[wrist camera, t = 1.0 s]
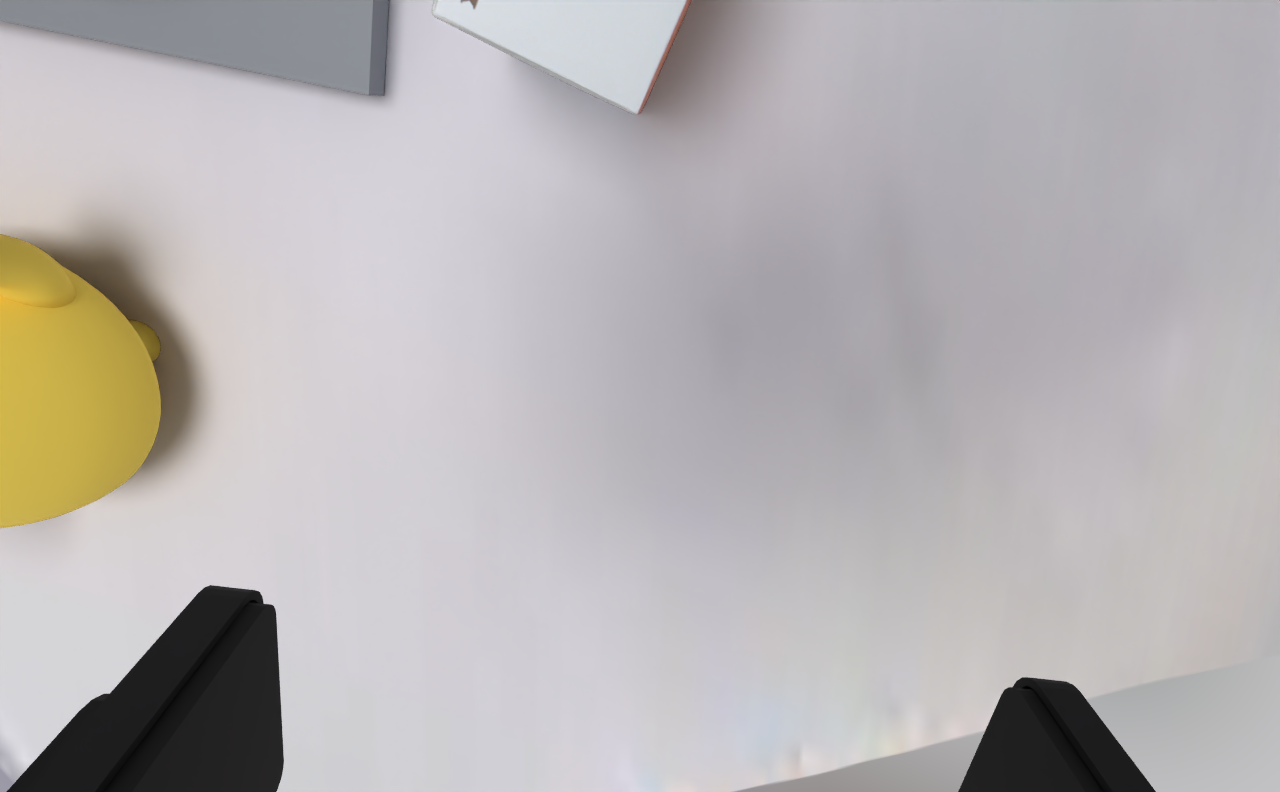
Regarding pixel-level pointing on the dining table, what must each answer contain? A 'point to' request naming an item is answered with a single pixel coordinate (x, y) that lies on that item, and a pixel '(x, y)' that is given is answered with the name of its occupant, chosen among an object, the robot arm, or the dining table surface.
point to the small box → (579, 39)
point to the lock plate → (235, 33)
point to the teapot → (68, 389)
